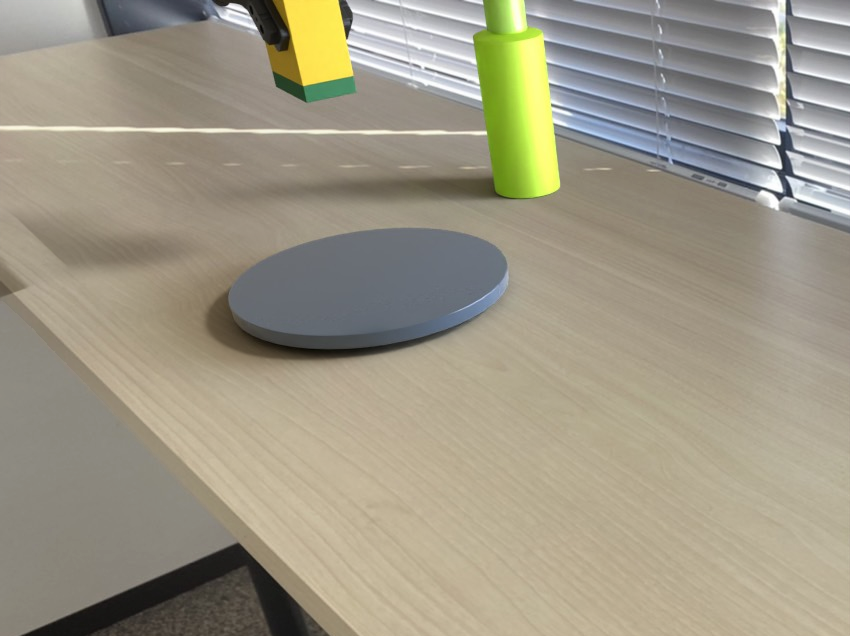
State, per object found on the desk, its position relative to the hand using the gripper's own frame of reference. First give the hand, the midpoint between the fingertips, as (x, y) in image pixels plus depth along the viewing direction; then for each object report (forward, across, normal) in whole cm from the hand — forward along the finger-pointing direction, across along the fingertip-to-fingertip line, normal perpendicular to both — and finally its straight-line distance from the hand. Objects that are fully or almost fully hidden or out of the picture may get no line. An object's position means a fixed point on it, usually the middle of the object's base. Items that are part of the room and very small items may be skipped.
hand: (315, 37), depth 84 cm
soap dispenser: (+9, +18, +14) cm, 25 cm away
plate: (+18, -3, +5) cm, 19 cm away
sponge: (+1, 0, +4) cm, 5 cm away
